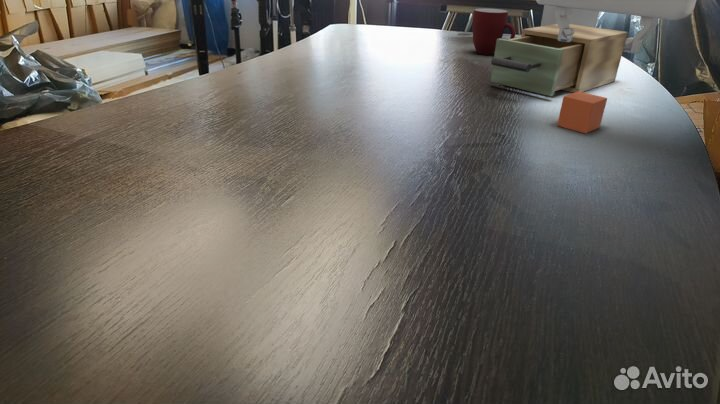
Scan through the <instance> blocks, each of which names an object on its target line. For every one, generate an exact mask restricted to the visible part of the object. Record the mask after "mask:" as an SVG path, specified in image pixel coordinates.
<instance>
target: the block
mask: <svg viewBox="0 0 720 404" xmlns="http://www.w3.org/2000/svg"><path fill="white" fill-rule="evenodd" d="M607 101H608V97H605V96H600V95H596V94H591V93H588V92H575V93H574V92H571V93H569V94H565V95H563V98H562V102H561V107H560V111H559V115H558V120H557V127H561V128H565V129H567V130H571V131H575V132H579V133H582V134H588V133H590V132H593V131H594V130H597V129H599V128H601V124H602V120H603V117H604V113H605V108H606V105H607Z"/></svg>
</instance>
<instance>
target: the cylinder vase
mask: <svg viewBox="0 0 720 404" xmlns="http://www.w3.org/2000/svg"><path fill="white" fill-rule="evenodd" d="M555 11H556V6H550V5H543V11H542V17H541V21H540V27H541V26H547V25H554V24H558V23H557V20H556V17H555ZM599 13H600V11H592V10H583V9H575V8H572V12H571V15H567V17H568V21H569V24H573V25H580V26H587V27H595V28H597V23H598V18H599Z"/></svg>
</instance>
